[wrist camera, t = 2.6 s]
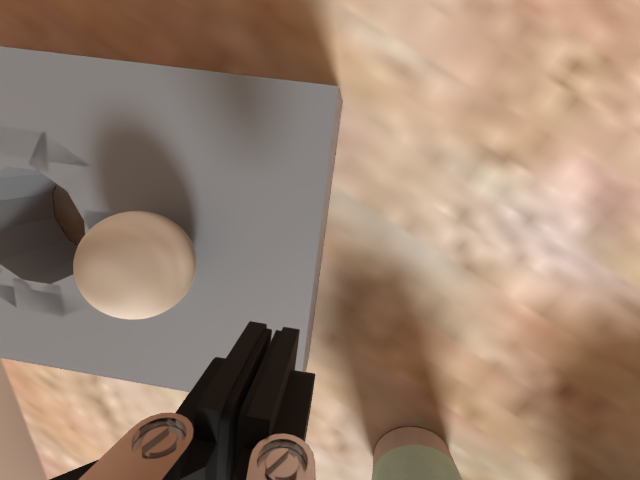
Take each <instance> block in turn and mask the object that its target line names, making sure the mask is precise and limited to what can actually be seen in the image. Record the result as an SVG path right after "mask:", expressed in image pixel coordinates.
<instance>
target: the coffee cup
mask: <svg viewBox="0 0 640 480" xmlns="http://www.w3.org/2000/svg"><path fill="white" fill-rule="evenodd" d="M372 480H462V478H461V476H460V474H459V471H458V469H457V467H456V465H455V463H454V461H453V458H452V456H451V454H450V452H449V450H448V447H447V446H446V444H445V442H444V441H443V440H442V439H441V438H440V437H439V436H438V435H436V434H435V433H433V432H431V431H429V430H426V429H423V428H418V427H402V428H398V429H395V430H392V431H390V432H388V433H387V434H385V435H384V436H383V437H382V438H381V439H380V440H379V441H378V443H377V444H376V447H375V450H374V459H373V473H372Z"/></svg>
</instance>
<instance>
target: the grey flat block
mask: <svg viewBox="0 0 640 480" xmlns="http://www.w3.org/2000/svg"><path fill="white" fill-rule="evenodd" d="M342 102H343V101H342V97H341V93H340V89H339V86H334V85H326V84H317V83H309V82H300V81H292V80H283V79H274V78H266V77H257V76H249V75H240V74H232V73H223V72H215V71H206V70H198V69H189V68H181V67H172V66H164V65H155V64H147V63H138V62H130V61H121V60H113V59H104V58H96V57H87V56H79V55H70V54H62V53H53V52H44V51H36V50H27V49H19V48H10V47H2V46H0V358H4V359H10V360H15V361H21V362H27V363H32V364H38V365H43V366H49V367H54V368H60V369H65V370H71V371H76V372H82V373H87V374H93V375H98V376H104V377H109V378H115V379H120V380H126V381H131V382H137V383H142V384H148V385H153V386H159V387H164V388H170V389H176V390H181V391H187V392H191V390H192V389H193V387H194V386H195V384H196V383H197V381H198V380H199V379H200V377H201V376H202V374H203V373H204V371H205V370H206V369H207V367H208V366H209V364H210V363H211V361H212V360H213V359H214V358H215V357H220V358H226V357H227V356H228V354H229V353H230V351H231V350H232V348H233V346H234V345H235V343H236V342H237V340H238V339H239V337H240V335H241V334H242V332H243V331H244V329H245V328H246V326H247V324H248V323H249V322H250V321H252V322H258V323H264V324H266V325H267V329H272V336H271V340H272V338H273V336H274V334H275V331H276V330H279V331H282V328H283V327H289V328H295V329H300V333H299V341H298V349H297V357H296V365H295V370H296V371H302V372H306V368H307V364H308V358H309V351H310V343H311V336H312V328H313V320H314V313H315V305H316V298H317V290H318V283H319V275H320V268H321V260H322V253H323V245H324V238H325V230H326V222H327V215H328V207H329V200H330V192H331V185H332V177H333V170H334V162H335V155H336V147H337V140H338V132H339V125H340V117H341V109H342ZM56 184H58V185H59V186H60V187H62V188H63V189H65V190H66V191H67V192H68V194H69V196H70V197H71V199H72V201H73V203H74V204H75V206H76V208H77V209H78V211H79V213H80V215H81V216H82V218H83V220H84V224H85V234H86V233H87V232H88V231H89V230H90V229H91V228H92V227H93V226H95V225H96V224H97V223H99V222H100V221H102V220H104V219H105V218H107V217H110V216H113V215H115V214H118V213H123V212H128V211H147V212H152V213H156V214H159V215H162V216H164V217H166V218H168V219H170V220H172V221H173V222H175V223H176V224H177V225H179V226H180V227H181V228H182V229H183V230H184V231H185V232H186V234H187V235H188V236H189V238H190V240H191V241H192V244H193V246H194V249H195V252H196V259H197V268H196V274H195V278H194V281H193V283H192V285H191V287H190V289H189V290H188V292H187V294H186V295H185V296H184V297H183V298H182V299H181V300H180V301H179V302H178V303H177V304H176V305H175V306H173V307H172V308H170V309H169V310H167V311H165V312H163V313H161V314H159V315H156V316H153V317H149V318H145V319H134V320H129V319H121V318H116V317H112V316H110V315H107V314H105V313H103V312H101V311H99V310H97V309H96V308H94V307H93V306H92V305H91V304H90V303H88V302H87V301H86V299H85V298H84V297H83V296H82V294H81V293H80V291H79V289H78V287H77V285H76V282H75V279H74V273H73V261H74V256H75V252H76V249H77V247H78V246H77V245H75V244H74V243H73V242H71V241H70V240H68V239H67V237H66V235H65V234H64V232H63V230H62V229H61V227H60V225H59V224H58V222H57V220H56V219H55V215H54V205H53V195H52V193H53V191H54V189H55V186H56Z"/></svg>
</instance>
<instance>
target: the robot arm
mask: <svg viewBox="0 0 640 480" xmlns="http://www.w3.org/2000/svg"><path fill="white" fill-rule="evenodd" d="M299 333H300V329H295V328H289V327H283V328H282V331H279V330H276V331H275V334H274V336H273V338H272V340H271V336H272V329H267V325H266V324H264V323H258V322H252V321H250V322H249V323H248V324H247V326H246V328H245V329H244V331H243V332H242V334H241V335H240V337H239V339H238V340H237V342H236V343H235V345H234V346H233V348H232V350H231V351H230V353H229V354H228V356H227V357H226V358H220V357H215V358H214V359H213V360H212V361H211V363H210V364H209V366H208V367H207V369H206V370H205V371H204V373H203V374H202V376H201V377H200V379H199V380H198V381H197V383H196V384H195V386H194V387H193V389H192V390H191V392H190V393H189V394H188V396H187V397H186V399H185V400H184V402H183V403H182V404H181V406H180V407H179V409H178V410H177V412H176V413H161V414H157V415H153V416H150V417H148V418H146V419H144V420H142V421H140V422H139V423H138V424H137V425H135V426H134V427H133V428H132V429H131V430H129V431H128V432H127V433H126V434H125V435H124V436H123V437H122V438H121V439H120V440H119V441H118V442H117V443H116V444H115V445H114V446H113V447H112V448H111V449H110V450H109V451H108V452H107V453H106V454H105V455H103V456H102V457H101V458H100V459H99V460H97V461H94V462H92V463H89V464H87V465H84V466H82V467H79V468H77V469H75V470H72V471H70V472H67V473H65V474H62V475H60V476H57V477H55V478H52V479H50V480H316V473H315V460H314V455H313V452H312V450H311V449H310V447H309V445H308V444H306V443H305V438H306V432H307V426H308V420H309V414H310V408H311V401H312V394H313V387H314V380H315V374H313V373H308V372H302V371H296V370H295V365H296V357H297V349H298V341H299Z"/></svg>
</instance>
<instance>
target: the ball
mask: <svg viewBox="0 0 640 480" xmlns="http://www.w3.org/2000/svg"><path fill="white" fill-rule="evenodd" d="M196 268H197V259H196V252H195V249H194V246H193V244H192V241H191V240H190V238H189V236H188V235H187V234H186V232H185V231H184V230H183V229H182V228H181V227H180V226H179V225H177V224H176V223H175V222H173V221H172V220H170V219H168V218H166V217H164V216H162V215H159V214H156V213H152V212H147V211H128V212H123V213H118V214H115V215H113V216H110V217H107V218H105V219H104V220H102V221H100V222H99V223H97V224H96V225H95V226H93V227H92V228H91V229H90V230H89V231H88V232H87V233H86V234H85V235H84V237H83V238H82V240H81V241H80V243H79V245H78V247H77V249H76V252H75V256H74V261H73V273H74V279H75V282H76V285H77V287H78V289H79V291H80V293H81V294H82V296H83V297H84V298H85V299H86V301H87V302H88V303H90V304H91V305H92V306H93V307H94V308H96V309H97V310H99V311H101V312H103V313H105V314H107V315H110V316H112V317H116V318H121V319H129V320H134V319H145V318H149V317H153V316H156V315H159V314H161V313H163V312H165V311H167V310H169V309H170V308H172V307H173V306H175V305H176V304H177V303H178V302H179V301H180V300H181V299H182V298H183V297H184V296H185V295H186V294H187V292H188V290H189V289H190V287H191V285H192V283H193V281H194V278H195V274H196Z"/></svg>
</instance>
